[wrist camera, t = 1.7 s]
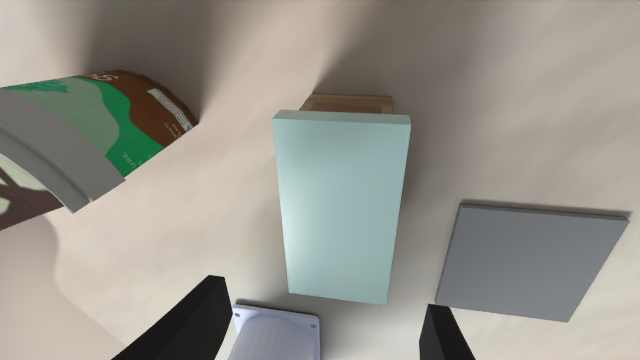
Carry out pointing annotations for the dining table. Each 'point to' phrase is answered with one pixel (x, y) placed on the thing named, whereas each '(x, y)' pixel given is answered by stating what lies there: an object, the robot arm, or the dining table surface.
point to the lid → (340, 200)
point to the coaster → (524, 260)
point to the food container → (80, 138)
